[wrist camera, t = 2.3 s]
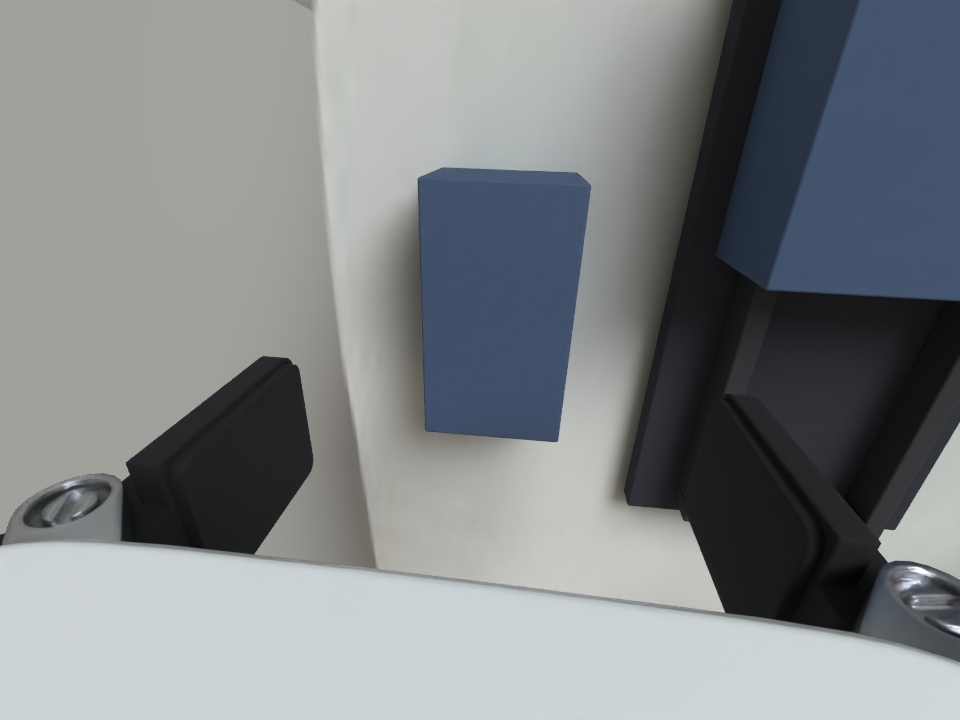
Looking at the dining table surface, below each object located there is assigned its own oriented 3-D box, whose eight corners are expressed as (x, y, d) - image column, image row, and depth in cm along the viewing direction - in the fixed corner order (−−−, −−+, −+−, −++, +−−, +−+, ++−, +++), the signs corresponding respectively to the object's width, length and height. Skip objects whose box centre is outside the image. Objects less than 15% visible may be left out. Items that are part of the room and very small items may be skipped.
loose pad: (443, 380, 21) (424, 431, 17) (441, 167, 17) (417, 176, 13) (553, 389, 21) (557, 442, 17) (578, 172, 17) (591, 184, 13)
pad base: (623, 491, 23) (645, 579, 18) (757, -111, 13) (876, -238, 8) (880, 514, 22) (970, 613, 17) (1238, -114, 12) (1660, -261, 7)
